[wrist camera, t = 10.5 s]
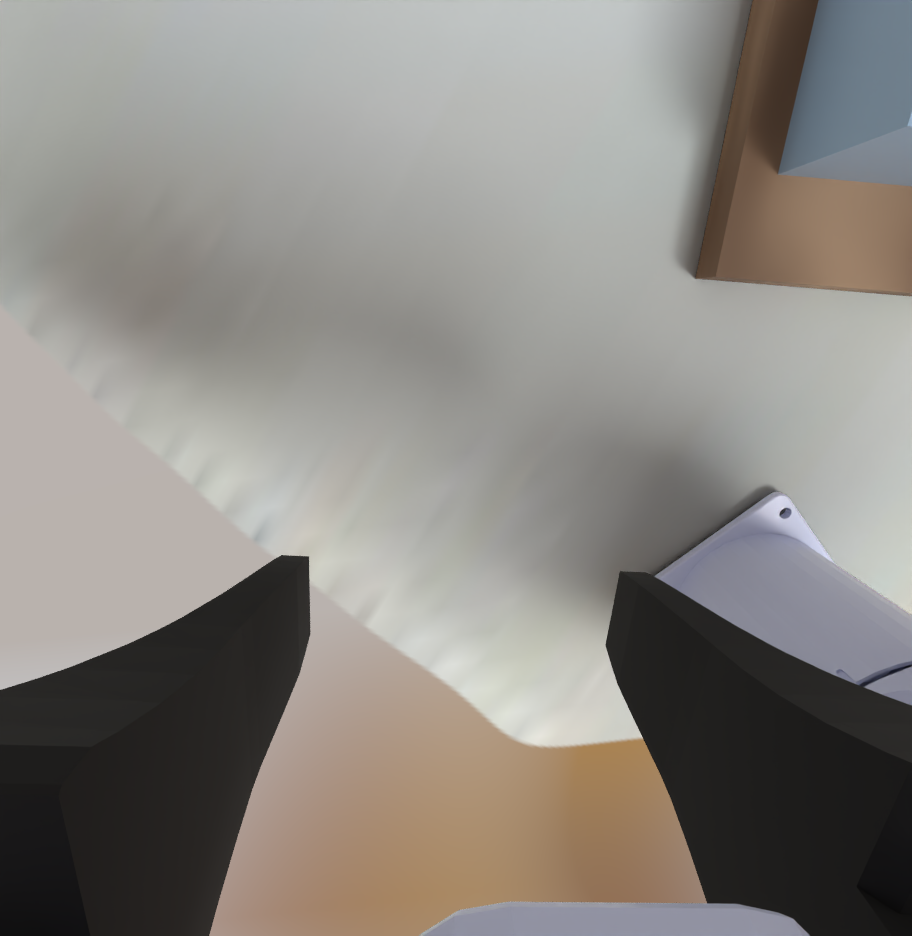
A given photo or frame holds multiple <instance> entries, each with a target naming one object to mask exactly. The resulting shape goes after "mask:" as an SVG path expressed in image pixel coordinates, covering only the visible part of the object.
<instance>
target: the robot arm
mask: <svg viewBox="0 0 912 936" xmlns="http://www.w3.org/2000/svg"><path fill="white" fill-rule="evenodd" d="M784 508H786V510H785V512H784V513H783V514H781V515H779V514H780V511H781V510H782V509H784ZM309 596H310V593H309V557H307V556H286V555H281V556H279V557H278V558H276V559H274V560H273V561H271V562H270V563H268V564H267V565H265V566H263V567H262V568H261V569H259V570H258V571H256V572H255V573H253V574H252V575H250V576H249V577H247V578H246V579H244V580H243V581H241V582H239V583H238V584H236V585H235V586H233V587H232V588H230V589H229V590H227V591H226V592H224V593H223V594H221V595H219V596H218V597H216V598H214V599H213V600H211V601H209V602H207V603H206V604H204V605H202V606H201V607H199V608H197V609H196V610H194V611H192V612H190V613H189V614H187V615H185V616H184V617H182V618H180V619H178V620H176V621H174V622H173V623H171V624H169V625H167V626H165V627H163V628H161V629H159V630H157V631H155V632H153V633H150V634H149V635H146V636H144V637H142V638H140V639H138V640H136V641H134V642H131V643H129V644H127V645H125V646H122V647H120V648H117V649H115V650H112V651H110V652H107V653H105V654H102V655H100V656H97V657H95V658H92V659H90V660H87V661H85V662H83V663H80V664H77V665H75V666H72V667H69V668H67V669H64V670H61V671H58V672H55V673H52V674H49V675H46V676H43V677H41V678H38V679H35V680H31V681H28V682H25V683H22V684H18V685H15V686H12V687H9V688H6V689H3V690H0V936H209V934H210V930H211V927H212V923H213V919H214V915H215V912H216V908H217V905H218V901H219V898H220V894H221V891H222V887H223V884H224V880H225V877H226V874H227V871H228V867H229V864H230V860H231V857H232V854H233V850H234V847H235V843H236V840H237V836H238V833H239V830H240V827H241V824H242V820H243V817H244V814H245V811H246V808H247V804H248V801H249V798H250V795H251V791H252V788H253V786H254V783H255V780H256V778H257V775H258V772H259V769H260V767H261V764H262V762H263V760H264V757H265V755H266V753H267V750H268V748H269V746H270V743H271V741H272V738H273V736H274V734H275V731H276V729H277V726H278V724H279V722H280V719H281V717H282V715H283V712H284V710H285V707H286V705H287V703H288V700H289V698H290V695H291V693H292V690H293V688H294V686H295V683H296V681H297V678H298V676H299V673H300V670H301V666H302V662H303V659H304V655H305V652H306V648H307V644H308V640H309V636H310V597H309ZM606 648H607V652H608V655H609V658H610V662H611V665H612V668H613V671H614V674H615V677H616V680H617V683H618V686H619V688H620V690H621V692H622V695H623V697H624V699H625V701H626V703H627V705H628V708H629V710H630V712H631V714H632V716H633V718H634V720H635V722H636V724H637V727H638V729H639V731H640V733H641V735H642V737H643V739H644V741H645V743H646V745H647V747H648V749H649V752H650V754H651V756H652V758H653V760H654V762H655V764H656V766H657V768H658V770H659V772H660V774H661V777H662V779H663V781H664V784H665V786H666V788H667V791H668V793H669V795H670V797H671V800H672V803H673V806H674V809H675V811H676V814H677V817H678V820H679V822H680V825H681V828H682V831H683V833H684V836H685V839H686V842H687V845H688V847H689V850H690V853H691V856H692V859H693V862H694V865H695V868H696V871H697V874H698V877H699V880H700V883H701V886H702V889H703V892H704V895H705V898H706V901H707V904H703V903H585V902H579V903H577V902H505V903H498V904H492V905H487V906H481V907H475V908H469V909H463V910H458V911H457V912H455V913H453V914H452V915H450V916H449V917H447V918H446V919H444V920H442V921H441V922H439V923H438V924H436V925H434V926H433V927H431V928H429V929H428V930H426V931H425V932H423V933H422V934H420V935H419V936H912V615H911V614H910V613H908V612H907V611H905V610H904V609H902V608H901V607H899V606H898V605H896V604H895V603H893V602H892V601H890V600H889V599H887V598H886V597H884V596H883V595H881V594H880V593H878V592H877V591H875V590H874V589H872V588H871V587H869V586H868V585H866V584H864V583H863V582H861V581H860V580H858V579H857V578H855V577H854V576H852V575H851V574H849V573H848V572H846V571H845V570H843V569H842V568H840V567H839V566H837V565H836V564H835V563H834V561H833V560H832V558H831V557H830V556H829V554H828V553H827V551H826V550H825V548H824V547H823V545H822V544H821V543H820V541H819V540H818V538H817V537H816V535H815V534H814V533H813V531H812V530H811V528H810V527H809V525H808V524H807V522H806V521H805V520H804V518H803V517H802V515H801V514H800V512H799V511H798V510H797V508H796V507H795V505H794V504H793V502H792V501H791V499H790V498H789V497H788V496H787V495H785V494H783V493H781V492H773V493H771V494H769V495H768V496H766V497H765V498H763V499H762V500H761V501H759V502H758V503H756V504H755V505H754V506H752V507H751V508H749V509H748V510H747V511H745V512H744V513H742V514H741V515H740V516H738V517H737V518H735V519H734V520H733V521H731V522H730V523H728V524H727V525H726V526H724V527H723V528H721V529H720V530H719V531H717V532H716V533H714V534H713V535H712V536H710V537H709V538H707V539H706V540H704V541H703V542H702V543H700V544H699V545H697V546H696V547H695V548H693V549H692V550H690V551H689V552H688V553H686V554H685V555H683V556H682V557H681V558H679V559H678V560H676V561H675V562H674V563H672V564H671V565H669V566H668V567H667V568H665V569H664V570H662V571H661V572H660V573H658V574H657V575H655V576H652V575H650V574H648V573H644V572H623V571H620V574H619V579H618V584H617V590H616V595H615V600H614V605H613V610H612V615H611V620H610V625H609V630H608V635H607V640H606Z"/></svg>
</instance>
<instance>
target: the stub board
mask: <svg viewBox="0 0 912 936" xmlns="http://www.w3.org/2000/svg"><path fill="white" fill-rule="evenodd" d="M818 1H819V0H753V1H752V6H751V11H750V16H749V21H748V25H747V30H746V35H745V40H744V45H743V50H742V55H741V59H740V64H739V69H738V74H737V79H736V84H735V89H734V93H733V98H732V103H731V108H730V113H729V118H728V123H727V127H726V132H725V137H724V142H723V147H722V152H721V157H720V161H719V166H718V171H717V176H716V181H715V186H714V191H713V195H712V200H711V205H710V210H709V215H708V220H707V225H706V230H705V234H704V239H703V244H702V249H701V254H700V259H699V264H698V268H697V273H696V279H708V280H720V281H732V282H744V283H756V284H769V285H781V286H793V287H805V288H817V289H830V290H842V291H854V292H866V293H878V294H890V295H903V296H912V186H903V185H891V184H880V183H869V182H857V181H846V180H834V179H823V178H812V177H800V176H789V175H778V172H779V167H780V163H781V159H782V155H783V150H784V146H785V142H786V138H787V133H788V129H789V125H790V120H791V116H792V112H793V108H794V103H795V99H796V95H797V91H798V86H799V82H800V78H801V74H802V69H803V65H804V61H805V56H806V52H807V48H808V44H809V39H810V35H811V31H812V27H813V22H814V18H815V14H816V9H817V5H818Z"/></svg>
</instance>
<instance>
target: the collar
mask: <svg viewBox="0 0 912 936" xmlns="http://www.w3.org/2000/svg"><path fill="white" fill-rule="evenodd" d="M778 175H789V176H800V177H812V178H823V179H834V180H846V181H857V182H869V183H880V184H891V185H903V186H912V0H819V1H818V5H817V9H816V14H815V18H814V22H813V27H812V31H811V35H810V39H809V44H808V48H807V52H806V56H805V61H804V65H803V69H802V74H801V78H800V82H799V86H798V91H797V95H796V99H795V103H794V108H793V112H792V116H791V120H790V125H789V129H788V133H787V138H786V142H785V146H784V150H783V155H782V159H781V163H780V167H779V172H778Z"/></svg>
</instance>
